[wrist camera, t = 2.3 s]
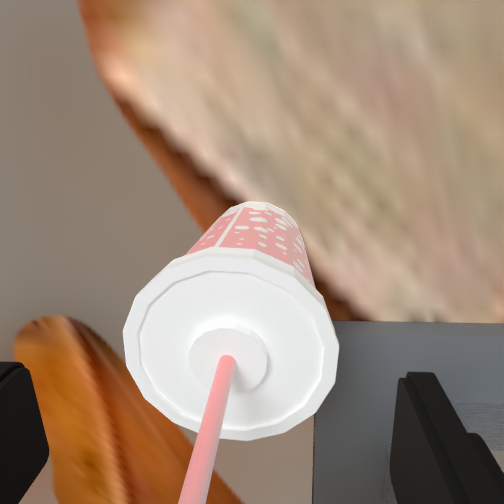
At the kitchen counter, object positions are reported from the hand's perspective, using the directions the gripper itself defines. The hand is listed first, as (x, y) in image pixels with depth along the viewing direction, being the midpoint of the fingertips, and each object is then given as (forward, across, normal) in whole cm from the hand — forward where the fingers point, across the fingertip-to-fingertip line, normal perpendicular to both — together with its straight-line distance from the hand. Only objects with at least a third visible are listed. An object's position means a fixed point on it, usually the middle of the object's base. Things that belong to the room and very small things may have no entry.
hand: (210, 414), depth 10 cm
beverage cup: (+11, 0, -1) cm, 11 cm away
